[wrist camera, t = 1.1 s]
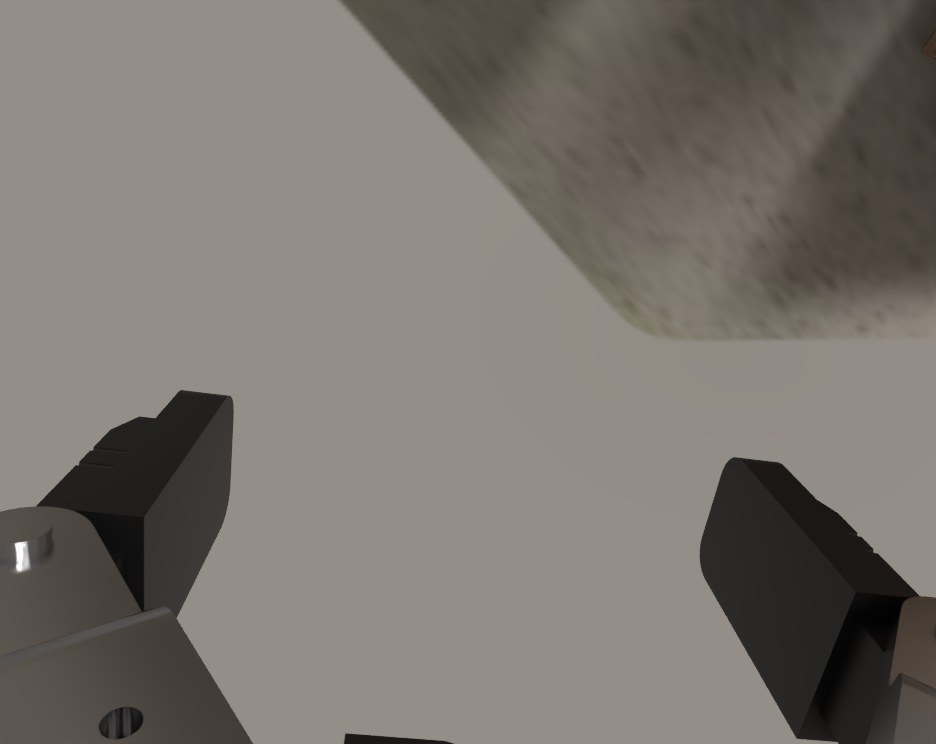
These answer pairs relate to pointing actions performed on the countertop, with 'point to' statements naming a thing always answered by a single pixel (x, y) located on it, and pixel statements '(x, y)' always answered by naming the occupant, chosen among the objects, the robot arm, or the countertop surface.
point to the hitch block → (931, 46)
